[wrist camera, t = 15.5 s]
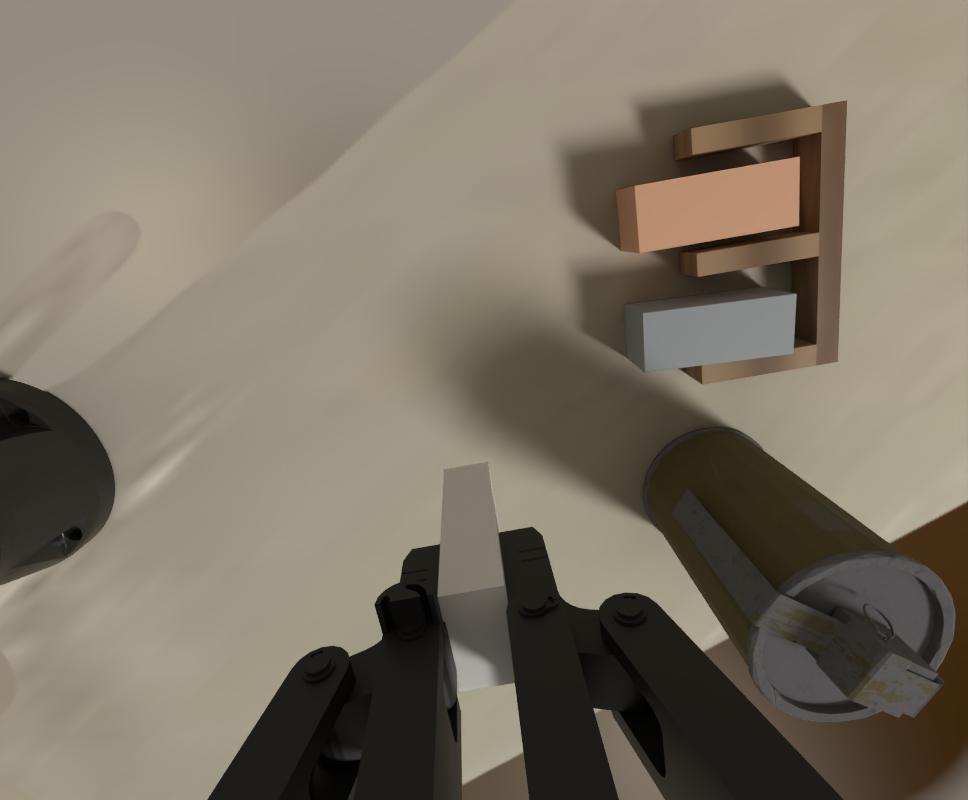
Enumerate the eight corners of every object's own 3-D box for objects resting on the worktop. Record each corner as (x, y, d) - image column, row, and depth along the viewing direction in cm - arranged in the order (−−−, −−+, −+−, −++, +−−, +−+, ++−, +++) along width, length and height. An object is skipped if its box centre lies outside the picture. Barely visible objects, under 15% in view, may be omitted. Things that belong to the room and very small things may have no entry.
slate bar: (625, 357, 40) (644, 372, 36) (623, 304, 39) (643, 313, 35) (758, 340, 40) (793, 353, 36) (760, 286, 39) (796, 293, 35)
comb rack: (686, 373, 41) (702, 384, 38) (673, 136, 36) (691, 128, 33) (811, 352, 40) (837, 361, 37) (816, 110, 35) (846, 100, 32)
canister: (796, 459, 43) (1057, 641, 24) (723, 560, 46) (907, 796, 27) (682, 403, 41) (867, 551, 22) (614, 512, 44) (727, 727, 25)
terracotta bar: (620, 250, 38) (639, 253, 34) (615, 191, 37) (634, 185, 32) (761, 226, 38) (799, 225, 33) (760, 165, 36) (799, 156, 32)
